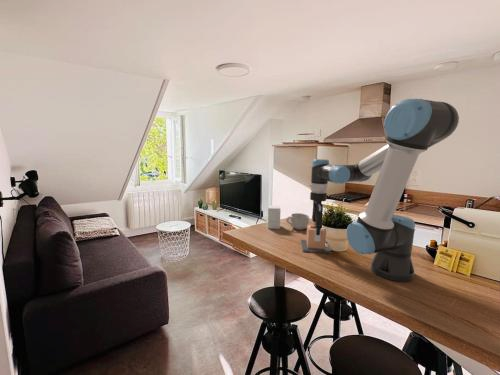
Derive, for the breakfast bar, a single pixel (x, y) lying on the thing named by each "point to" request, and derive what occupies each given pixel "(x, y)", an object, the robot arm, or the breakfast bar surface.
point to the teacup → (298, 221)
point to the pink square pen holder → (310, 238)
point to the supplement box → (274, 217)
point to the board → (306, 249)
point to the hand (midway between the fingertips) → (315, 237)
